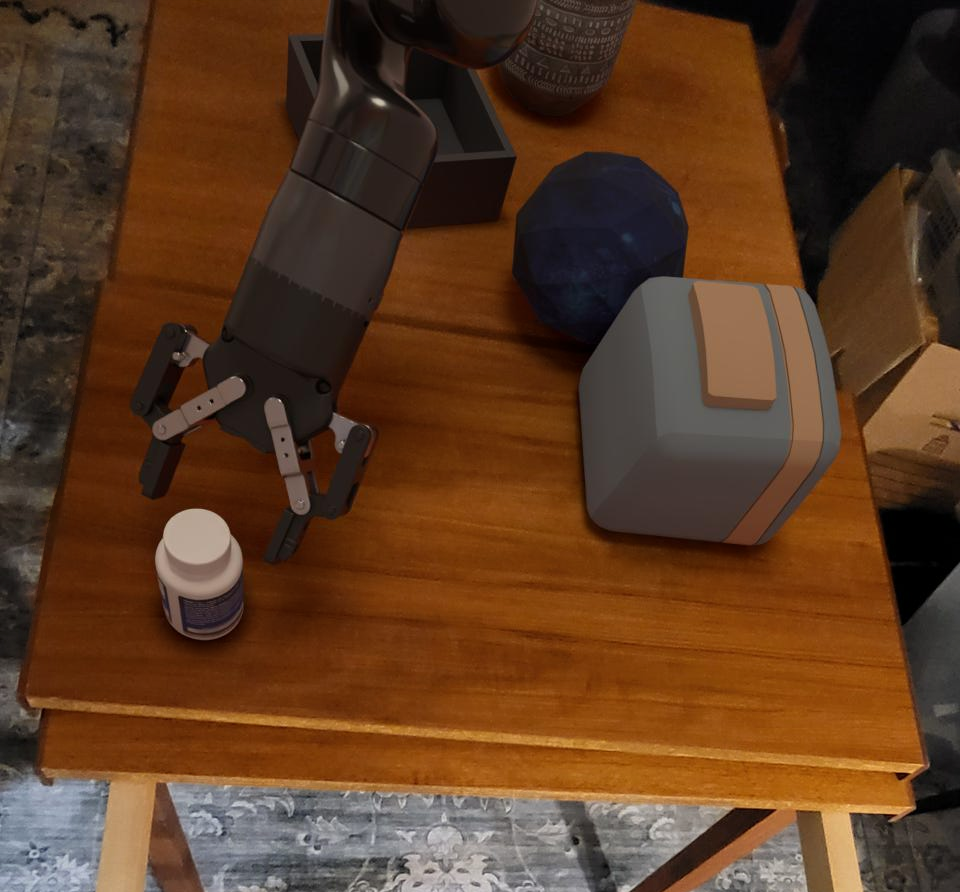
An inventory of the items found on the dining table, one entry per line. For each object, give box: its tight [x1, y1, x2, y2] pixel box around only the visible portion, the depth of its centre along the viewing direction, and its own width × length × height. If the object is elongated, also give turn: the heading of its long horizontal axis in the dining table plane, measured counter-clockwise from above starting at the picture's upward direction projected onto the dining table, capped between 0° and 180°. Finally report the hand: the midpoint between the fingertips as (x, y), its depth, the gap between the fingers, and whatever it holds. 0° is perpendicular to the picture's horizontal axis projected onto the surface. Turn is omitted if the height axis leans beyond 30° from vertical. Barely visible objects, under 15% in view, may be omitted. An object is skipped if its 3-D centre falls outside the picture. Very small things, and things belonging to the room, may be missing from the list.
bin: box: [285, 33, 518, 230], centre depth 84 cm, size 16×16×7 cm
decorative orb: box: [511, 150, 690, 346], centre depth 79 cm, size 14×15×15 cm
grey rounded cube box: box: [578, 276, 842, 546], centre depth 73 cm, size 16×16×16 cm
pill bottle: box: [154, 508, 245, 641], centre depth 62 cm, size 5×5×10 cm
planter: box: [497, 0, 638, 117], centre depth 90 cm, size 12×12×13 cm
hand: (212, 529), depth 60 cm, fingers open, 8 cm apart
